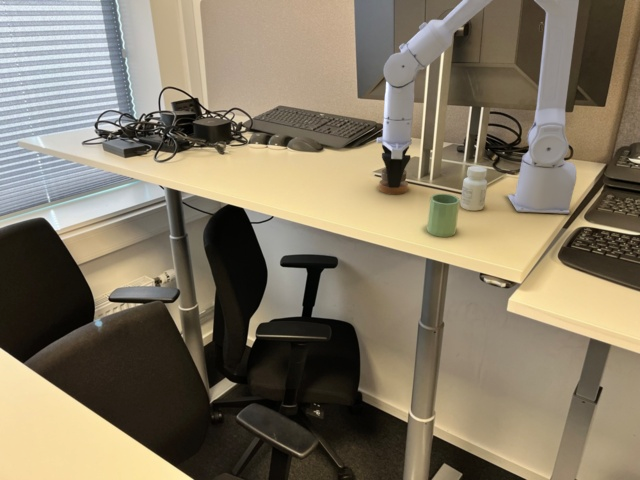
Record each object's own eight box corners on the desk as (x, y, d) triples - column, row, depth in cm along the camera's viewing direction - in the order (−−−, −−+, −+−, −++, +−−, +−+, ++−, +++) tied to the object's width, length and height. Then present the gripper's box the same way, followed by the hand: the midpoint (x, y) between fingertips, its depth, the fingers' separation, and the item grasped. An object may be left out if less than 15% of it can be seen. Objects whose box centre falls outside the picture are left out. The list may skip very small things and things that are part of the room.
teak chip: (406, 184, 102) (407, 178, 101) (408, 194, 96) (408, 188, 96) (379, 183, 102) (379, 177, 102) (378, 193, 97) (379, 187, 96)
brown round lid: (405, 174, 100) (406, 168, 100) (406, 183, 96) (407, 176, 95) (381, 173, 101) (381, 167, 100) (381, 182, 96) (381, 175, 96)
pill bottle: (480, 202, 92) (486, 165, 89) (485, 211, 89) (492, 172, 85) (458, 202, 93) (463, 164, 89) (462, 210, 89) (467, 172, 85)
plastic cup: (453, 225, 83) (457, 194, 81) (457, 237, 79) (461, 205, 76) (426, 224, 84) (429, 192, 81) (428, 236, 79) (431, 203, 77)
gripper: (378, 109, 99) (375, 170, 106) (377, 125, 87) (373, 193, 93) (411, 110, 99) (406, 171, 105) (415, 126, 86) (409, 195, 92)
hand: (393, 182), depth 99 cm, fingers closed on brown round lid, 5 cm apart
